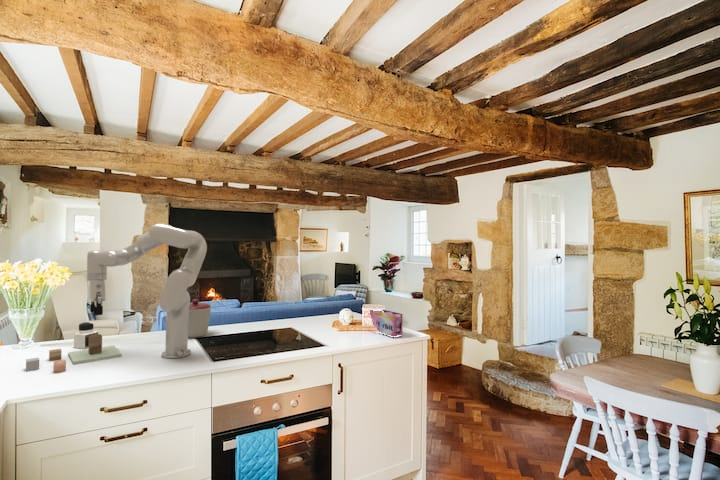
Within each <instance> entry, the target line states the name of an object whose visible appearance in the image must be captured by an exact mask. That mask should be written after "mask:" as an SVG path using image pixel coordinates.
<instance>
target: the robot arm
mask: <svg viewBox="0 0 720 480" xmlns="http://www.w3.org/2000/svg"><path fill="white" fill-rule="evenodd" d="M163 245H167V246H171V247H175V248H178V249H187V252H186V254H185V256H184V258H183V260H182V263H181V265H180V267H179V268H177V269H174V270H172V272H171V273H170V274H169V275H168V277H167V279H166V282H165V284H164V286H163V288H162V291H161V293H160V296H159V300H158V304H159V307H160V309H161V310H163V312H165V313H166V317H165V318H166V319H165V320H166V321H165V349H164V351H163V352H161V357H162V358H164V359H179V358H184V357H187V356H189V355H191V353H192V350H191V349H190V348H188V343H189V340H188V339H189V338H188V315H189V306H190V303H191V295H190V293H189V292H188V291H187V290H188V288H190V287H192V286H193V285H194V284H195V283H196V280H197V278H198V275H199V273H200V270H201V268H202V265H203V262H204V260H205V257H206V255H207V251H208V244H207V242H206V240H205V238H204V236H203V235H202V234H201V233H199V232H197V231H195V230H188V229H181V228H177V227H173V226H172V225H170V224H168V223H155V224H153V225H152V226H150V227H149V229H148V231H147V232H144V233H143V234H139V235H138V236H137V237H136V238H135V241H134V242H133V243H132V244H130V245H128V246H126V247H125V248H122V249H117V250H116V249H115V250H89V251H88V252H87V254H86V255H87V257H86V265H87V266H86V281H89V299H90V313H93V316H103V313H104V312H103V311H104V310H103V309H104V306H103V302H105V301H106V283H105V282H106V281H107V279H108V278H107V275H108V267H110V268H113V267H114V268H115V267H119V266H120V267H121V266H125V265H128V264H130V263H132V262H134V261H136V260H139V259H140V258H141V257H143V256H144V255H147V253H149V252H151V251H153V250H155V249H157V248H159V247H161V246H163Z"/></svg>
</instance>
